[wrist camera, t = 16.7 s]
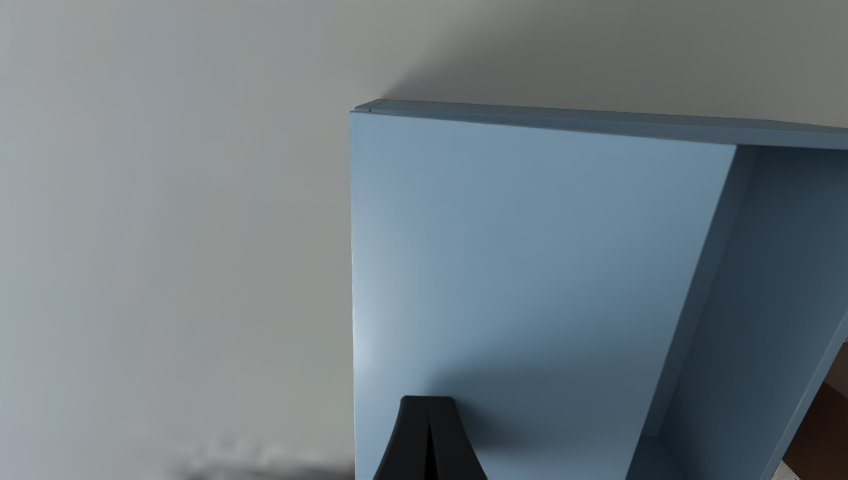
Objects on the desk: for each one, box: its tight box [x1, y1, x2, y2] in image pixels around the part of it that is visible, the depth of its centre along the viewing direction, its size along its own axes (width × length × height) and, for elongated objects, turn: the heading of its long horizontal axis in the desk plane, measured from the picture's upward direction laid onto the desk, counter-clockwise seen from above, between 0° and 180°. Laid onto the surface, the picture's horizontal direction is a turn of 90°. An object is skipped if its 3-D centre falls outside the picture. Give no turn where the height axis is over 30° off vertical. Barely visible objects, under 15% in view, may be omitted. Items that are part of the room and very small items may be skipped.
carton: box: [354, 99, 848, 480], centre depth 15 cm, size 16×15×5 cm
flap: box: [349, 111, 737, 480], centre depth 11 cm, size 16×7×1 cm, turn 177°
